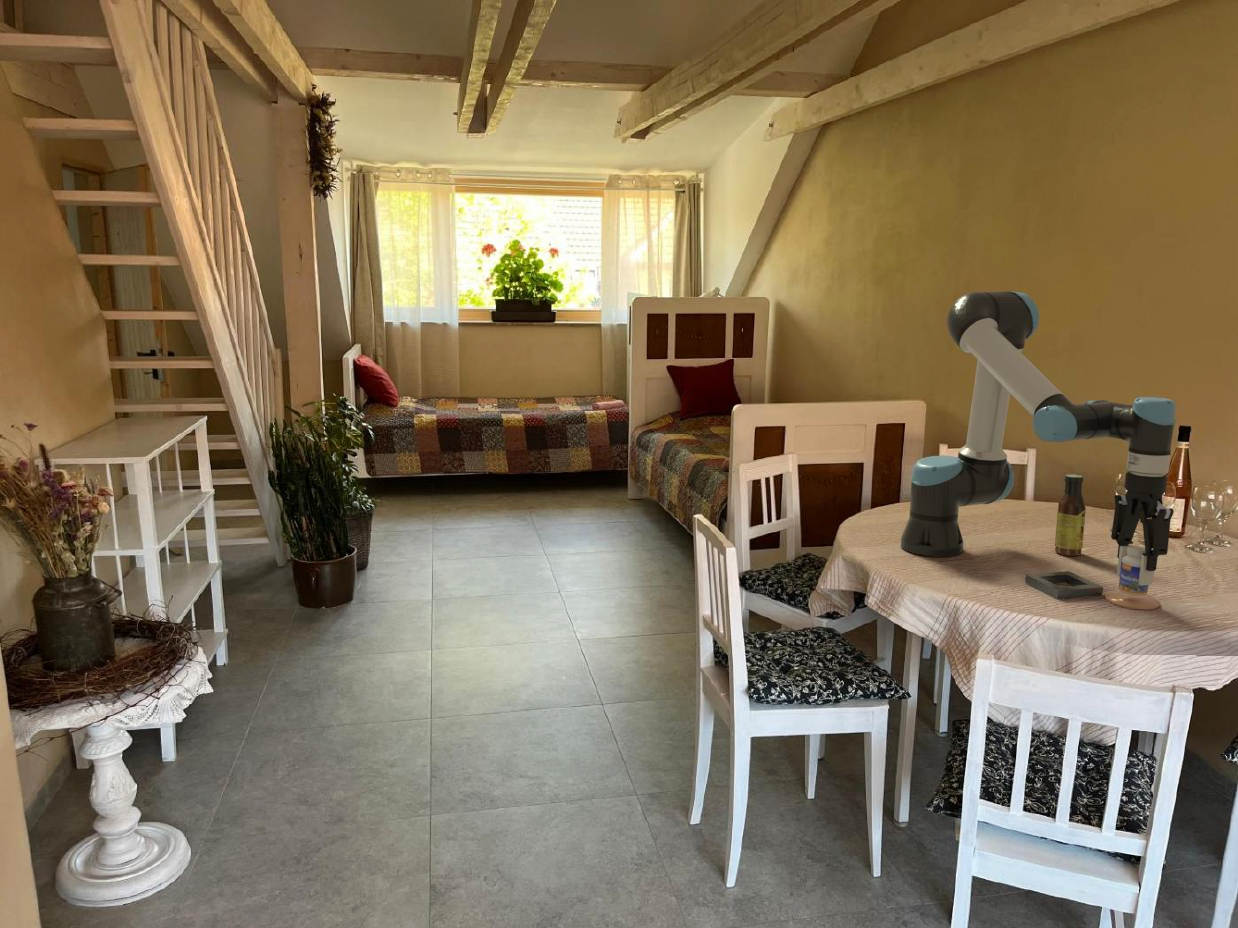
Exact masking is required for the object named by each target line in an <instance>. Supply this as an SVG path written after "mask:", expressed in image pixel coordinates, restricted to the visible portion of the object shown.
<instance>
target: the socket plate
mask: <svg viewBox="0 0 1238 928" xmlns="http://www.w3.org/2000/svg"><path fill="white" fill-rule="evenodd" d="M1024 583H1025V584H1026V585H1028V586H1030V587H1032V588H1034V589H1035V590H1038V591H1040V592H1042V593H1044V594H1046V595H1048V596H1050V597H1052V598H1054V599H1056V600H1068V599H1081V598H1090V597H1091V598H1093V597H1100V596H1101V597H1103V596H1104V595H1103V594H1104V586H1102V585H1100V584H1099V583H1095V582H1094V581H1091V580H1089V579H1087V578H1085V577H1082V576H1080V575H1079V574H1076V573H1074V572H1071V571H1069V570H1067V571H1054V572H1053V571H1052V572H1042V573H1029V574H1025V578H1024ZM1057 584H1058V585H1057ZM1059 584H1067V585H1069V586H1059Z"/></svg>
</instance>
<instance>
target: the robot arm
mask: <svg viewBox="0 0 1238 928" xmlns="http://www.w3.org/2000/svg"><path fill="white" fill-rule="evenodd" d="M1039 323H1040V312H1039V309H1038V306H1037V303H1036V302H1034V299H1033V298H1032V297H1031V296H1030V295H1029V294H1026V293H1024V292H1021V291H1020V292H1019V291H1011V290H1005V291H1004V290H1001V291H973V292H968V293H965V294H963V295H962V296H960V297H958V298H957V299H956V300H955V301H954V302H953V303H952V305H951V306H950V308H949V311H948V312H947V317H946V325H947V326H946V327H947V330H948V333H949V335H950V337H951V339H952V340H953V342H954V343H955V344H956V346H958V347H959V348H960V350H961V351H963V352H964V353H967V354H972V355H973V357H974V358H976V360H977V362H976V363H977V364H976V370H975V377H974V378H975V379H974V384H973V392H972V399H971V407H970V413H969V420H968V428H967V436H966V441H965V442H966V443H965V445H963V446H962V447H960V448H959V449H958V453H957V454H958V455H957V457H956V456H953V455H932V456H925V457H923V458H920V459H918V460H916V462H914V463H913V466H912V472H911V473H912V474H911V477H910V481H911V482H910V501H909V516H908V517H909V518H908V520H907V523H906V525H905V527H904V530H903V533H902V535H901V538H900V548H901V547H902V548H903V550H904V551H906V552H908V551H911V552H913V553H912V554H914V553H916V554H915V555H919V554H921V555H920V556H926V557H936V558H945V557H946V558H948V557H955V556H958V555H962V553H963V551H964V540H963V536H962V533H961V528H960V525H959V510H960V509H959V508H960V507H967V506H975V505H989V504H990V505H991V504H993V503H997V502H1000V501H1002V500H1004V499H1005V498H1006V497H1007V496H1008V495H1009V494H1010V492H1011V491H1012V488H1013V486H1014V482H1015V472H1014V470H1012V468H1013V466H1012V464H1011V463H1010V462H1009V461H1008V455H1007V454H1006V452H1005V451H1004V449H1003V444H1004V443H1003V442H1004V436H1005V430H1006V425H1007V416H1008V412H1009V411H1008V410H1009V404H1010V398H1011V396H1012V397H1014V399H1015V400H1016V401H1017V402H1018V403H1019V404H1020V405H1021V406H1022V407H1023V408H1024V409H1025V410H1026V412H1028V414H1029V415H1031V416H1032V417H1033V418H1032V428H1033V429H1034V433H1035V435H1036V437H1037V438H1039V439H1040V440H1041V441H1044V442H1046V443H1047V442H1048V443H1065V442H1070V441H1071V442H1072V441H1078V440H1094V439H1104V438H1106V439H1107V438H1108V439H1109V438H1110V439H1117V440H1123V441H1128V451H1127V452H1128V453H1127V460H1126V469H1127V470H1128V471H1127V472H1125V478H1124V486H1123V487H1124V490H1126V493H1124V494H1116V495H1114V505H1115V506H1114V515H1113V521H1112V528H1111V529H1112V530H1111V535H1110V536H1111V537H1110V538H1111V540H1113V541H1115V542H1116V543H1117V545H1118V547H1117V556H1116V557H1117V559H1118V561H1117V562H1118V563H1117V570H1116V575H1117V576H1119V577H1120V571H1121V563H1122V558H1123V557H1124V556H1127V555H1128V554H1127V548H1128V546H1133V544H1134V542H1133V541H1132V540H1133V538H1134V535H1135V533H1136V530H1137V527H1138V524H1139V522H1140V523H1141V524H1142V530H1143V531H1142V533H1143V542H1144V547H1145V553H1142V558H1141V566H1140V575H1139V583H1138V584H1139V585H1148V586H1150V585H1153V582H1154V581H1153V580H1154V575H1155V572H1156V570H1157V566H1158V558H1159V556H1166V555H1168V551H1169V550H1168V549H1169V540H1170V539H1169V538H1170V530H1171V529H1170V528H1171V520H1172V518H1173V515H1174V512H1175V510H1174V509H1173V508H1167V507H1166V506H1165V505H1164V502H1163V498H1162V497H1163V495H1164V494H1165V493H1166V492H1167V487H1168V486H1167V485H1168V476H1167V475H1166V474H1168V473H1169V472H1170V471H1169V470H1170V462H1171V451H1172V450H1171V449H1172V447H1171V446H1172V441H1173V436H1174V435H1173V434H1174V430H1175V424H1176V403H1175V401H1174V400H1172V399H1171V398H1165V397H1153V396H1140V397H1137V398H1135V399H1134V401H1133V404H1127V403H1126V404H1125V403H1119V402H1113V401H1109V400H1104V399H1103V400H1102V399H1101V400H1097V399H1096V400H1095V399H1091V400H1088V401H1086V402H1085V403H1081V404H1080V403H1079V404H1075V403H1073V402H1072V401H1071V400H1070V399H1069V398H1068V397H1066V396H1065V395H1064V394H1063V393H1062V391H1061V390H1059V389H1058V388H1057V387H1056V385H1054V384H1053V383H1052V382H1051V381H1050V380H1049V379H1048V378H1047V377H1046V376H1045V375H1044V374H1043V373H1042V372H1041V371H1040V370H1039V369H1038V368H1037V367H1036V366H1035V365H1034V364H1033V363H1032V362H1031V361H1030V360H1029V359H1028V358H1027V357H1026V356H1025V355H1024V354H1023V353H1022V351H1024V349H1025V344H1026V340H1027V339H1029V338H1030V337H1032V336H1033V335H1034V333H1036V331H1037V330H1038V327H1039ZM902 548H901V549H902ZM911 552H910V553H911Z"/></svg>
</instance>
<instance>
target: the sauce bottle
mask: <svg viewBox="0 0 1238 928" xmlns="http://www.w3.org/2000/svg"><path fill="white" fill-rule="evenodd" d="M1083 482H1084V475H1079V474H1074V473H1073V474H1070V473H1069V474H1065V476H1064V490H1063V491H1064V493H1063V494H1062V496H1061V498H1060V499H1058V500H1059V501H1058V506H1057V507H1058V508H1057V512H1056V525H1055V526H1056V527H1055V537H1054V538H1055V539H1054V547H1055V548H1054V551H1055V553H1056V554H1059V555H1061V556H1065V557H1066V556H1067V557H1069V556H1071V557H1076V556H1079V555H1081V553H1082V549H1083V546H1084V534H1085V522H1086V509H1087V508H1086V504H1085V500H1084V497H1083V492H1082V487H1083Z"/></svg>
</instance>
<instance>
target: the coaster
mask: <svg viewBox="0 0 1238 928" xmlns="http://www.w3.org/2000/svg"><path fill="white" fill-rule="evenodd" d="M1105 600H1106V602H1107V603H1110V604H1112V605H1113V606H1116V607H1121V608H1124V609H1129V610H1135V611H1153V610H1156V609H1159V608H1160V600H1158V599H1157V598H1156V597H1153V596H1150V595H1148V594H1146V595H1143V596H1133V595H1128V594H1125V593H1122V592H1121V591H1119V590H1114V591H1109V592H1107V593H1106V594H1105Z"/></svg>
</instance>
